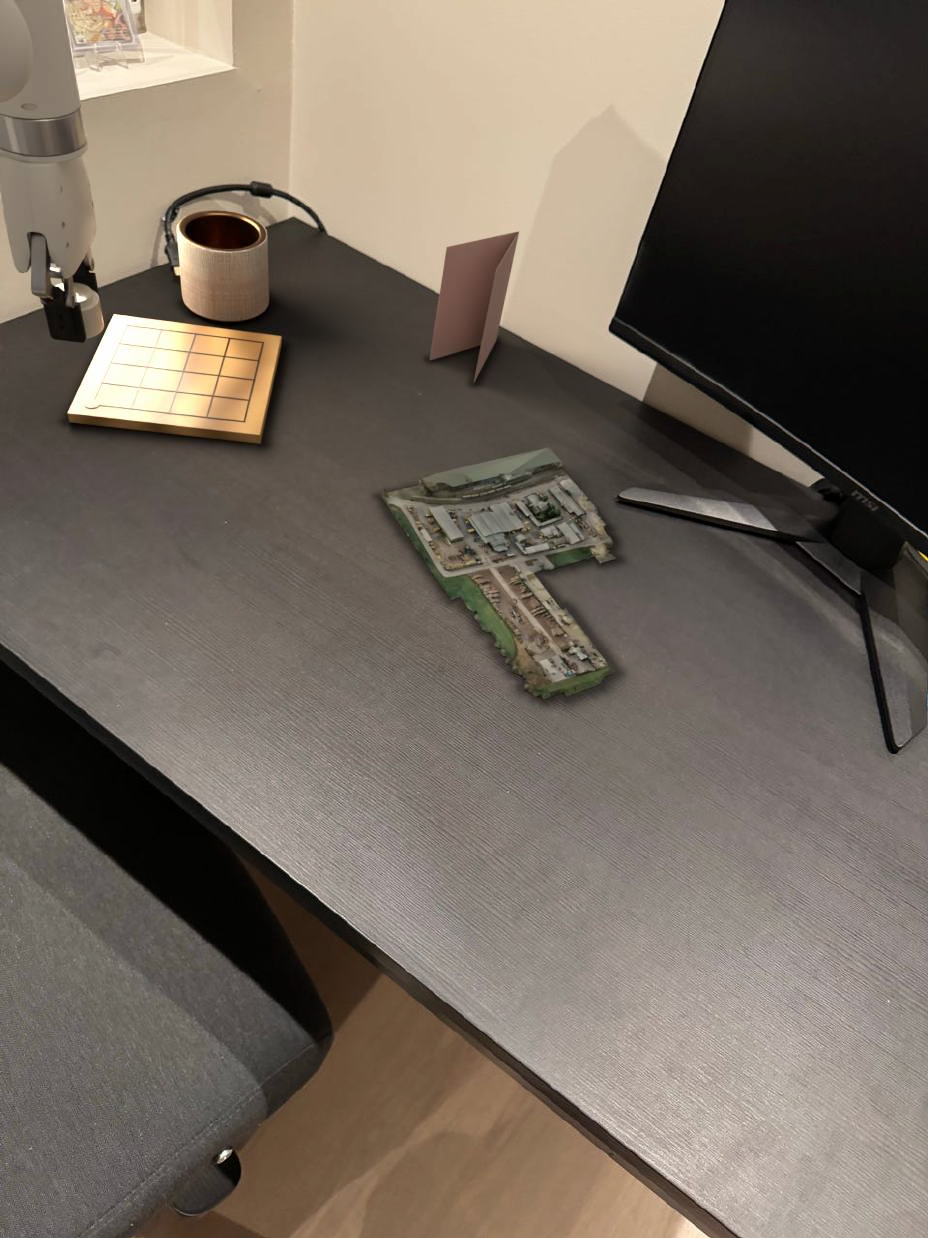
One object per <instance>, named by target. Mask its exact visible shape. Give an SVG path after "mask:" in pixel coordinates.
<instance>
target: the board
mask: <svg viewBox="0 0 928 1238" xmlns="http://www.w3.org/2000/svg"><path fill="white" fill-rule="evenodd" d="M282 337H283V336H282V335H276V334H275V335H274V334H268V333H260V332H251V331H244V330H243V331H242V330H237V329H229V328H221V327H214V326H206V325H198V324H191V323H184V322H175V321H169V320H168V321H167V320H161V319H154V318H145V317H137V316H129V315H121V314H115V313H114V314H113V316H112V318H111V319H110V322H109V323H108V326H107V328H106V330H105V332H104V335H103V337H102V339H101V340H100V343H99V345H98V346H97V349H96V351H95V354H94V355H93V358H92V360H91V362H90V365H89V366H88V368H87V371H86V373H85V375H84V377H83V379H82V381H81V383H80V386H79V388H78V390H77V392H76V394H75V396H74V398H73V400H72V402H71V405H70V407H69V409H68V411H67V416H68V422H69V423H72V424H73V423H74V424H81V425H91V426H99V427H108V428H118V429H126V430H127V429H128V430H135V431H142V432H143V431H144V432H153V433H162V434H171V435H179V436H188V437H199V438H205V439H216V440H222V441H223V440H224V441H234V442H240V443H241V442H242V443H250V444H259V445H261V443H262V438H263V434H264V429H265V424H266V419H267V414H268V409H269V406H270V401H271V396H272V391H273V386H274V381H275V377H276V373H277V368H278V362H279V358H280V354H281V349H282V343H283V341H282V340H283V339H282Z"/></svg>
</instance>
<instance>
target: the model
mask: <svg viewBox="0 0 928 1238" xmlns="http://www.w3.org/2000/svg"><path fill="white" fill-rule="evenodd" d="M563 466H564V463H563V461H562V460H561V459H560V458H559V456H557V455H556V454H555V453H554V451H553V450H552V449H551V448H550V447H545V448H540V449H537V450H532V451H527V452H522V453H517V454H514V455H509V456H505V457H502V458H501V457H500V458H496V459H493V460H492V459H491V460H488V461H483V462H479V463H475V464H471V465H465V466H461V467H457V468H453V469H448V470H444V471H440V472H436V473H431V474H427V475H422V476H419V477H413V478H412V480H418V485H415V486H410V487H406V488H401V489H397V490H392V491H389V492H387V490H386V488H383V491H382V493H381V498H382V500H383V501H384V503H385V505H386V506H387V507H388V509H389V510H390V512H391V513H392V515H393V516H394V518H395V519H396V521H397V522H398V523H399V525H400V527H401V528H402V530H403V531H404V533H405V534H406V535H407V537H408V539H409V540H410V542H411V543H412V544H413V546H414V548H415V549H416V551H417V552H418V554H419V555H420V557H421V558H422V560H423V561H424V562H425V565H427V567H428V569H429V570H430V571H431V573H432V574H433V576H434V578H435V579H436V581H437V582H438V583H439V585H440V586H441V588H442V589H443V591H444V592H445V594H446V596H447V597H448V598H449V599H450V601H451V600H456V599H459V598H460V599H461V600H462V602H463V603H464V605H465V606H466V608H467V609H468V610H469V611H471V612H472V613H475V612H476V614H475V615H474V616H473V618H474V619H475V621H476V622H477V624H478V626H479V627H480V628H481V630H483V631H484V632H486V633H490V634H491V635H492V637H493V638H494V644H493V647H495V648H498V649H500V652H499V656H503V657H506V660H505V664H507V665H509V666H512V668H511V673H514V674H516V675H519V676H522V680H524V682H525V684H524V688H523V691H525V692H528V693H532V695H533V697H534V698H537V697H540V698H541V699H542V700H543V701H545V700H547V699H550V698H553V697H555V696H558V695H561V694H563V695H564V696H565V697H566V698H568V697H570V696H572V695H575V694H578V693H580V692H584V691H586V690H588V689H591V688H594V687H596V686H598V685H600V684H601V682H602V681H604V679H605V678H606V677H608V676H610V675H613V674H615V673H616V672H615V670H614V669H613V668H612V667H611V665H610V664H609V662H608V661H607V660H606V658H605V657H604V655H602V654H601V653H600V651H599V649H598V648H597V647H596V646H595V644H594V643H593V642H592V641H591V639H590V638H589V636H588V635H587V634H586V632H585V631H584V629H582V627H581V626H580V625H579V623H578V622H577V621H576V620H575V618H574V617H573V615H572V614H571V613H570V611H568V609H567V608H566V607H564V609H563V608H561V607H560V606H559V605H558V603H557V601H555V599H554V598H553V596H552V595H551V594H550V593H549V592H548V590H547V589H546V588H545V586H544V585H543V583H542V582H541V581H540V579H539V578H538V577H537V575H536V573H538V572H540V571H544V570H545V571H550V570H554V569H558V568H561V567H564V566H568V565H571V564H574V563H577V562H580V561H584V560H586V561H589V560H590V559H591V558H595V559H596V560H597V561H598V563H599V564H602V563H606V562H610V561H612V560H616V559H617V557H616V556H614V555H613V554H611V553H610V552H611V550H610V549H609V548H612V547H613V544H614V542H613V540H612V538H611V536H610V535H608V534H607V532H606V530H605V529H606V527H607V524H606V522H605V521H604V520H603V519H602V517H603V515H599V513H598V508H597V507H596V505H594V503H593V502H592V501H591V500H589V497H588V496H587V495H586V494H585V493H584V491H583V490H582V489H581V488H580V487H579V486H578V485H577V484H576V483H575V481H574V480H573V479H572V478H571V477H570V475H569V474H568V473H567V472H566V471H565V470H564V469H563Z"/></svg>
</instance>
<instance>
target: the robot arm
mask: <svg viewBox="0 0 928 1238" xmlns="http://www.w3.org/2000/svg"><path fill="white" fill-rule="evenodd" d="M65 6H66V5H65V1H64V0H0V203H1V207H2V213H3V219H4V223H5V229H6V234H7V238H8V243H9V249H10V253H11V257H12V262H13V265H14V268H15V269H16V271H17V272H18V273H20V274H25V273H28V272H29V270H30V292H31V294H32V295H34V296H35V297H38V298H39V301H40V304H41V305H42V306H43V311H44V314H45V318H46V323H47V328H48V332H49V335H50V337H51V338H52V339H53V340H57V341H62V342H63V341H65V342H72V343H80V344H83V343H85V342H86V340H87V339H88V338H87V337H86V332H85V327H84V322H83V317H82V312H81V307H80V303H79V302H75V294H74V285H73V282H74V283H81V284H84V285H86V286H88V287H90V288H91V290H93V291H95V292H96V293H97V294H98V296H99V300H100V305H101V306H102V302H101V298H100V297H101V295H100V292H99V286H98V281H97V275H96V272H94V271H95V260H94V256H93V252H92V249H91V246H92V245H93V242H94V240H95V237H96V234H97V222H96V211H95V206H94V199H93V195H92V189H91V184H90V180H89V175H88V171H87V166H86V163H85V158H84V154H85V153H86V152H87V151H88V148H89V145H88V144H89V143H88V139H87V138H88V137H87V132H86V126H85V120H84V114H83V109H82V103H81V98H80V91H79V83H78V79H77V72H76V67H75V61H74V55H73V48H72V41H71V37H70V36H71V35H70V30H69V25H68V19H67V13H66V7H65ZM51 265H55V266H56V268H55V267H51ZM51 279H58V280H61V284H62V283H63V287H64V291H63V290H62V289H61V288H60V287H58V286H56V285H54V284H53V283H52V281H51ZM86 338H87V339H86Z"/></svg>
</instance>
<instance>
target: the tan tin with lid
mask: <svg viewBox="0 0 928 1238" xmlns="http://www.w3.org/2000/svg"><path fill="white" fill-rule="evenodd" d="M73 285H74V294H75V302H79V303H80V307H81V312H82V317H83V322H84V327H85V332H86V337H87V338H86V340H87V339H90V338H93V337H96V336H98V335H99V334H101V333H102V332H103V330H104V328H105V323H104V322H105V321H104V317H103V311H102V304H101V305H100V302H101V299H100V300H99V296H100V295H99V296H98V294H97V293H96V292H95V291H93V290H91V288H90V287H88V286H86V285H84V284H81V283H74V282H73ZM55 286H58V287H60V288H61V289H62V290H63V291H64V287H63V283H62V282H61V283H58V284H56V285H55Z"/></svg>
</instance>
